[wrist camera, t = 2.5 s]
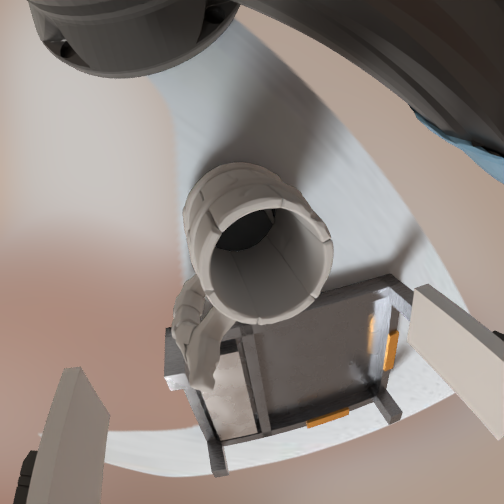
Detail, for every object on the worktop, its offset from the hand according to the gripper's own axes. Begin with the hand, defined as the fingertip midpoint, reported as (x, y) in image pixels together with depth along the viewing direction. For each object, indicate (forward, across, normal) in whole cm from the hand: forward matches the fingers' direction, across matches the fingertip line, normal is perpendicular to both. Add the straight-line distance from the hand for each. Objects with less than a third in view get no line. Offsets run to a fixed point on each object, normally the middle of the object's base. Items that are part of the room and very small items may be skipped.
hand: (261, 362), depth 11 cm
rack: (+14, +5, -15) cm, 21 cm away
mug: (+14, 0, 0) cm, 14 cm away
